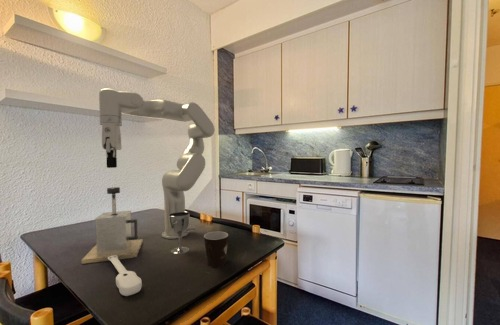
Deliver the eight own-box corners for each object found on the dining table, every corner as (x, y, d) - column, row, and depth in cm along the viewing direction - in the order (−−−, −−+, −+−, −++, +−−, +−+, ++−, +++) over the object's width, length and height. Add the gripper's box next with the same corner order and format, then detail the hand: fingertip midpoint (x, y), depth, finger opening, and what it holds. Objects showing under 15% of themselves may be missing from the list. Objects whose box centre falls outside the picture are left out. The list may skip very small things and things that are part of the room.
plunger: (128, 224, 99) (126, 186, 99) (123, 230, 91) (122, 188, 91) (106, 226, 97) (104, 187, 96) (99, 232, 89) (98, 189, 89)
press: (142, 242, 105) (141, 208, 104) (136, 257, 89) (135, 217, 89) (96, 247, 99) (95, 211, 99) (81, 264, 84) (80, 221, 84)
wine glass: (169, 255, 90) (168, 217, 90) (170, 247, 98) (169, 212, 97) (190, 253, 92) (189, 215, 92) (190, 245, 100) (189, 210, 100)
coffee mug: (217, 255, 89) (216, 229, 89) (233, 262, 84) (233, 234, 84) (192, 267, 80) (191, 238, 80) (208, 275, 75) (208, 244, 75)
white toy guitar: (102, 265, 83) (102, 257, 83) (120, 260, 87) (120, 253, 87) (123, 301, 62) (122, 290, 62) (145, 292, 66) (145, 282, 66)
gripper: (116, 118, 87) (117, 168, 87) (125, 124, 101) (126, 166, 101) (93, 117, 85) (94, 168, 85) (105, 123, 99) (106, 167, 99)
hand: (111, 167), depth 93 cm, fingers closed
